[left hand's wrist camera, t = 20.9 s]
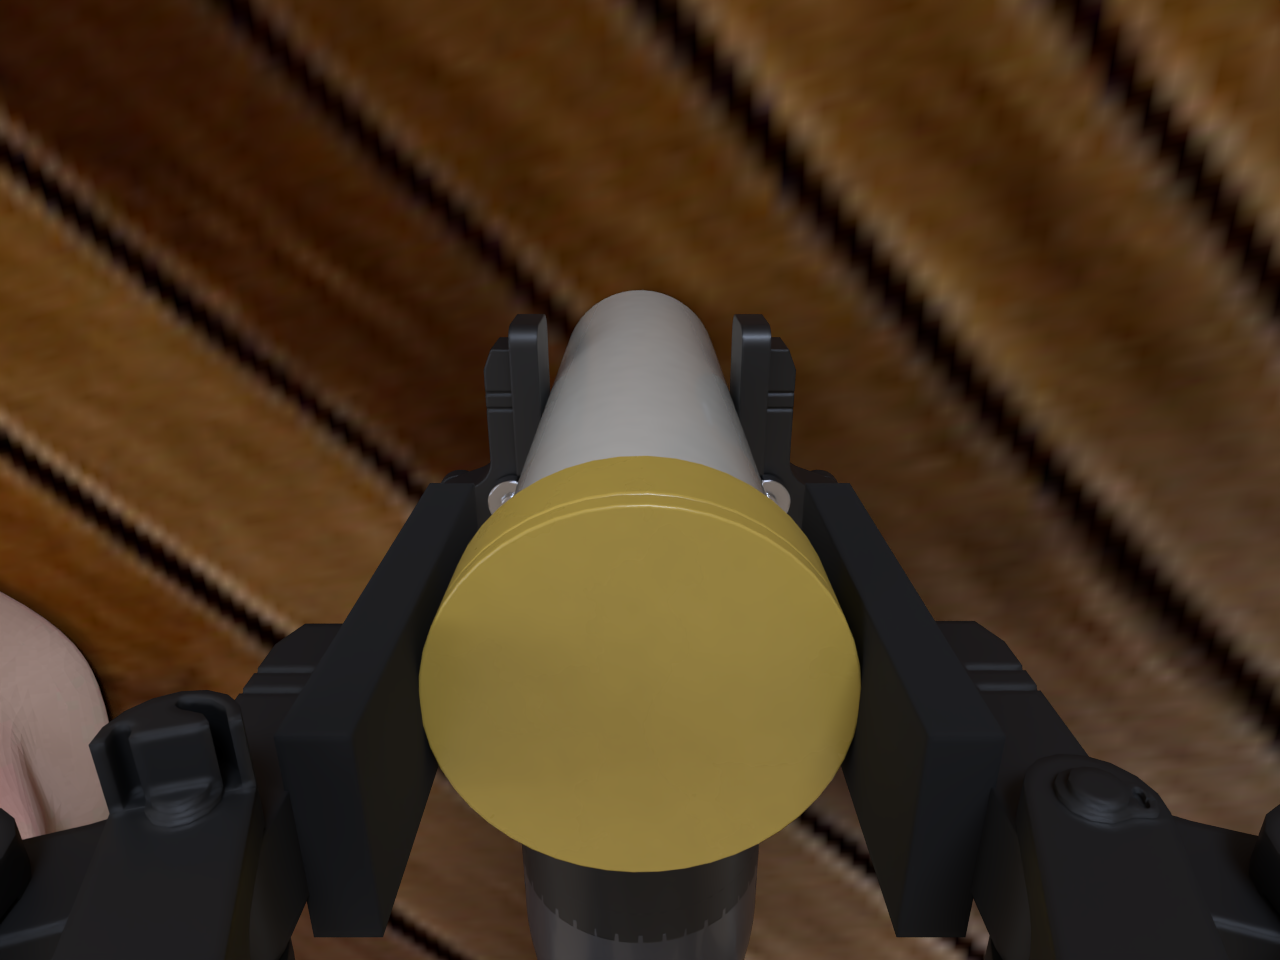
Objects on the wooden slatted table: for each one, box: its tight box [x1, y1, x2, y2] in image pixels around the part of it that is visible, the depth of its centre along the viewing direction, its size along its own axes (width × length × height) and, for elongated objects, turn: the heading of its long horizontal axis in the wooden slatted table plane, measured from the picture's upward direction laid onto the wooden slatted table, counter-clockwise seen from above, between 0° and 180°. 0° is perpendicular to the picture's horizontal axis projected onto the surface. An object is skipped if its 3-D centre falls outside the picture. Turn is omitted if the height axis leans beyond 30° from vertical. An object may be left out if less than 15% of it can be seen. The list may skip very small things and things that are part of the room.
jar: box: [513, 290, 767, 496], centre depth 19 cm, size 5×5×17 cm
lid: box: [419, 456, 861, 872], centre depth 11 cm, size 6×6×2 cm
